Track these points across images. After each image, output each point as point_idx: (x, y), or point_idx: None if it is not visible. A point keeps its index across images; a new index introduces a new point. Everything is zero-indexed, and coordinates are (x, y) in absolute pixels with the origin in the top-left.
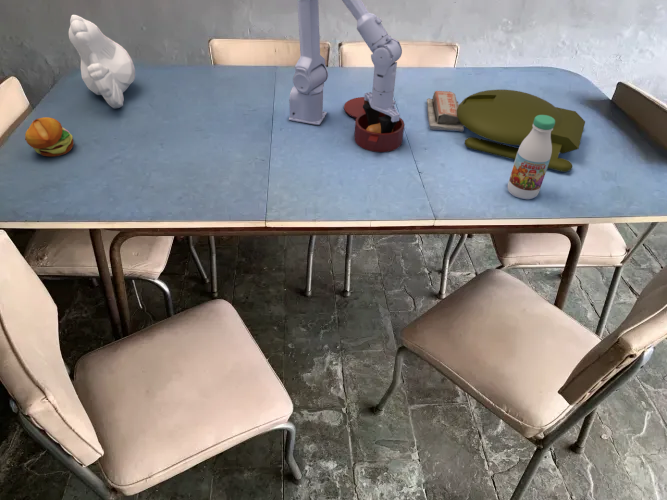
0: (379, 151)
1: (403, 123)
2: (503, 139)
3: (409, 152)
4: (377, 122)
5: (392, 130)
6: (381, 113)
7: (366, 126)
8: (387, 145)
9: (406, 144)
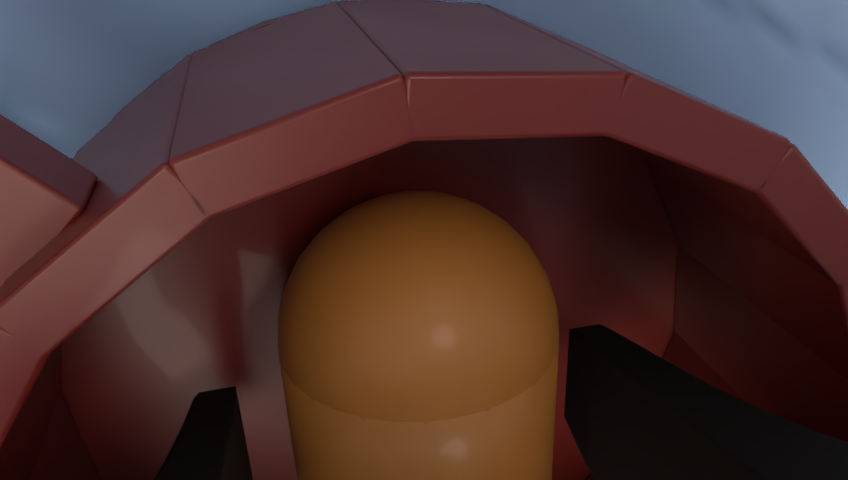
0: None
1: (748, 144)
2: None
3: (842, 98)
4: (229, 442)
5: (532, 252)
6: (25, 395)
7: (69, 458)
8: None
9: (677, 26)
